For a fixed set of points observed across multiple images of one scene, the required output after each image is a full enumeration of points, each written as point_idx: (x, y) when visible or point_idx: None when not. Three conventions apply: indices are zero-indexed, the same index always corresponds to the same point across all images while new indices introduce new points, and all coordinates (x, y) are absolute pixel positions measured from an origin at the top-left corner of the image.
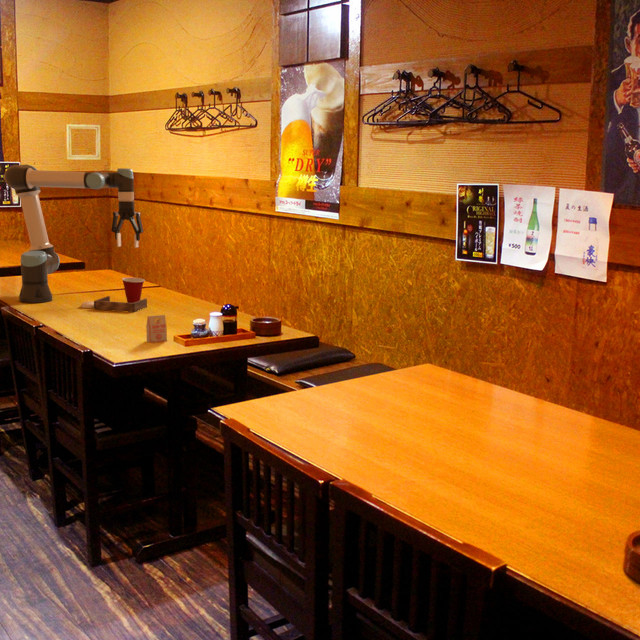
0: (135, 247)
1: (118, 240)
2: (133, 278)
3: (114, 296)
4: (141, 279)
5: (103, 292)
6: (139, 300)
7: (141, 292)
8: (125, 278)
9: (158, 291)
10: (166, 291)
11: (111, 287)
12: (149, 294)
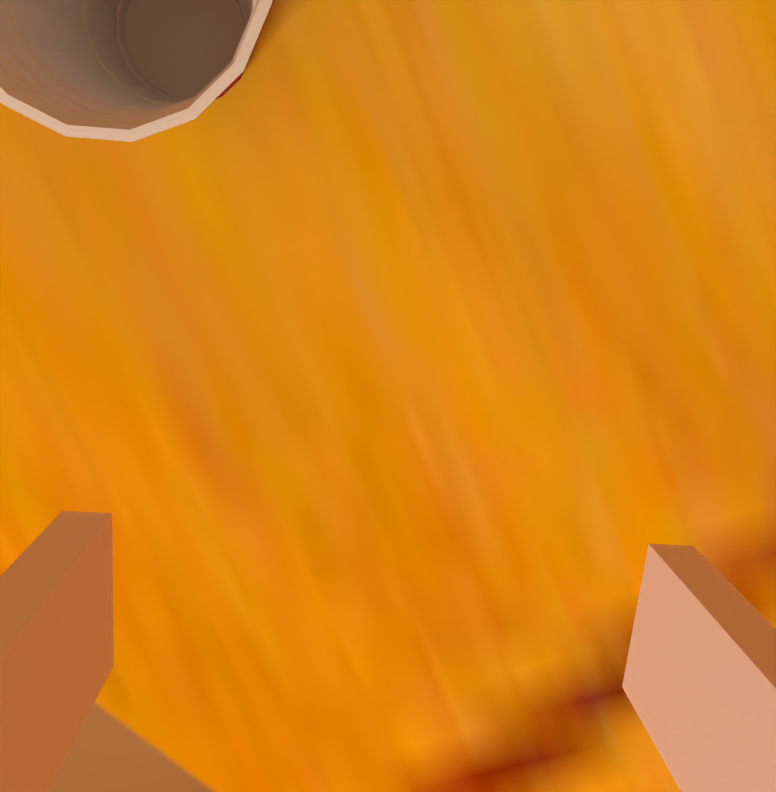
0: (80, 514)
1: (741, 669)
2: (168, 112)
3: (525, 357)
4: (36, 102)
5: (698, 525)
6: (105, 18)
7: (73, 56)
8: (254, 9)
9: (228, 699)
10: (158, 718)
11: None
12: (243, 541)
